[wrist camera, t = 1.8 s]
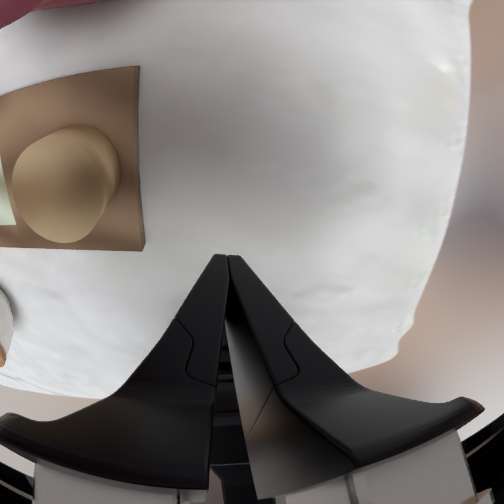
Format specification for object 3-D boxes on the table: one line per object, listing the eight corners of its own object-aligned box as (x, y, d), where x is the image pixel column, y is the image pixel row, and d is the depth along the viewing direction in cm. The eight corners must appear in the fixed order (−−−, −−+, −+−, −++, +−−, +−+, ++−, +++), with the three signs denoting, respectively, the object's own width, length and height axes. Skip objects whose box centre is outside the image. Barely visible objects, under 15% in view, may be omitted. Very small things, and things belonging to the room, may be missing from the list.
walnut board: (145, 242, 22) (142, 251, 21) (-24, 239, 19) (-30, 245, 18) (139, 66, 14) (134, 65, 13) (-52, 120, 10) (-59, 124, 10)
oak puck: (125, 212, 19) (109, 244, 16) (49, 213, 18) (26, 242, 15) (118, 118, 15) (94, 133, 12) (35, 130, 14) (3, 148, 11)
